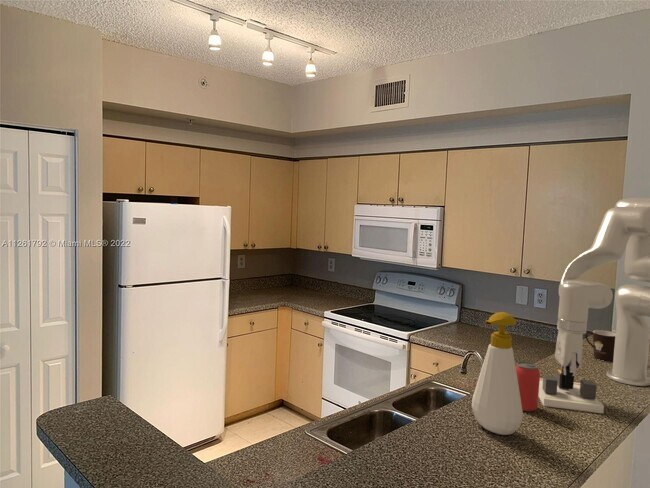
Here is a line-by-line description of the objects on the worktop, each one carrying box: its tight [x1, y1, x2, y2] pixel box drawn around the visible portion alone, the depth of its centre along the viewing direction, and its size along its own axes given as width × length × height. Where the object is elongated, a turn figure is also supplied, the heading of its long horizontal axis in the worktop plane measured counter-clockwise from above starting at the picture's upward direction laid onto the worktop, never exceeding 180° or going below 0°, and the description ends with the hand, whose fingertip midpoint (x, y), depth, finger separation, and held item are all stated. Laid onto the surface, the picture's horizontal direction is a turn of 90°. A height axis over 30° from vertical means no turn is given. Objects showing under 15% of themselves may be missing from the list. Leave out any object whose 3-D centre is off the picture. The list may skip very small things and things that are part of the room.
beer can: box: [515, 361, 541, 412], centre depth 131 cm, size 7×7×12 cm
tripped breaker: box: [555, 369, 561, 388], centre depth 143 cm, size 4×3×4 cm
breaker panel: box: [538, 374, 605, 414], centre depth 139 cm, size 18×15×6 cm
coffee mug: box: [584, 329, 616, 362], centre depth 181 cm, size 12×9×10 cm
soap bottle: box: [471, 311, 524, 436], centre depth 115 cm, size 13×10×29 cm
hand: (566, 387), depth 139 cm, fingers closed
